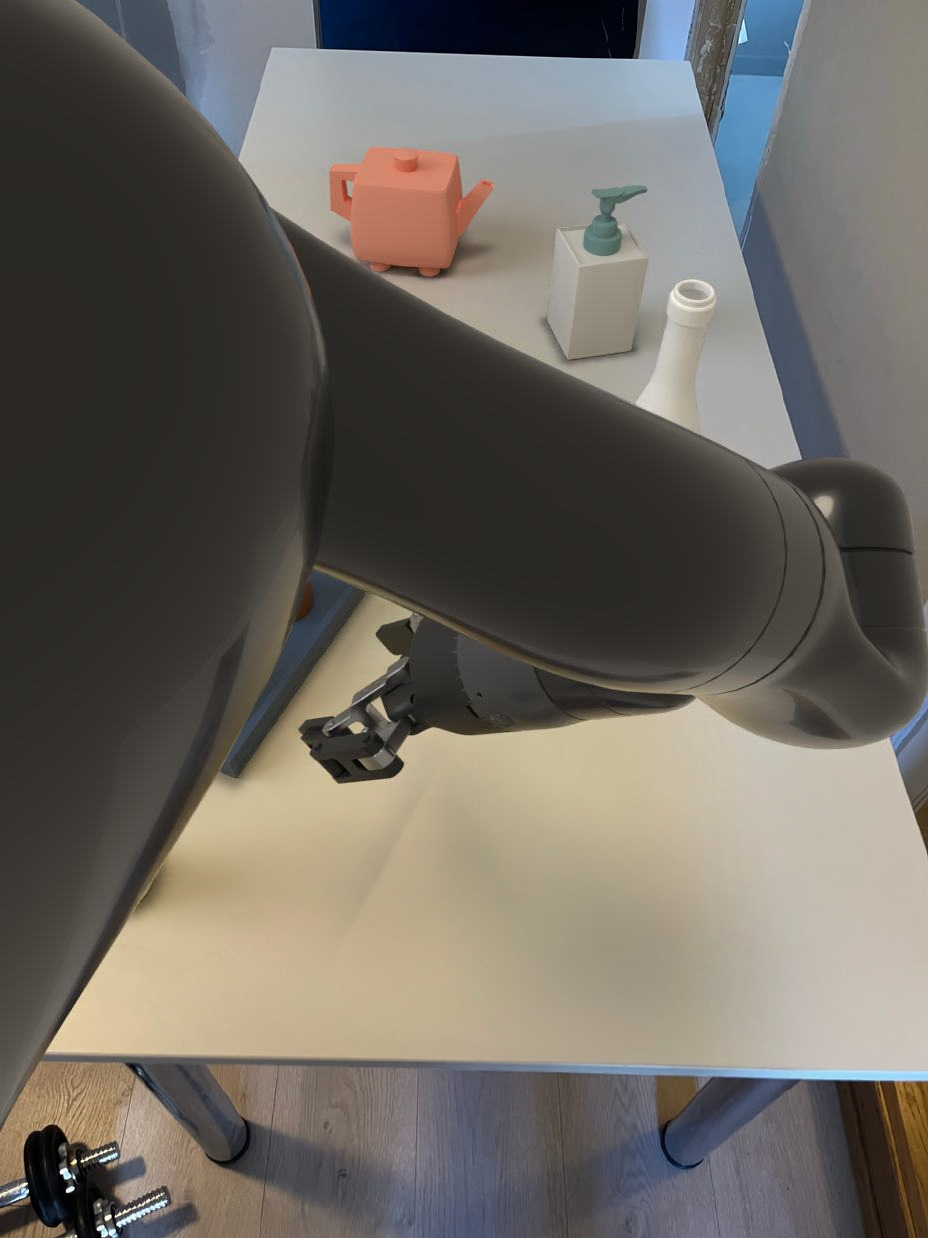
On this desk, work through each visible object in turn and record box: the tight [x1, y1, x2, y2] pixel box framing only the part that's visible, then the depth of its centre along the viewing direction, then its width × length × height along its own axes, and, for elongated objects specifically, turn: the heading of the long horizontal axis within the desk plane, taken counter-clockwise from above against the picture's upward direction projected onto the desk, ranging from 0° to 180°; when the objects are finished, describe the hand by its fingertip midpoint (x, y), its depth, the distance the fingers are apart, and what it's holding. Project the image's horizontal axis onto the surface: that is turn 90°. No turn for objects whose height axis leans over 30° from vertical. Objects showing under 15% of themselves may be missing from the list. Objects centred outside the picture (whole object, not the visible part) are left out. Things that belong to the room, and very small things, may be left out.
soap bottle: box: [546, 184, 649, 361], centre depth 109 cm, size 9×9×19 cm
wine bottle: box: [634, 278, 718, 435], centre depth 82 cm, size 10×10×30 cm
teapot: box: [328, 146, 495, 277], centre depth 122 cm, size 22×13×14 cm, turn 81°
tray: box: [219, 570, 367, 779], centre depth 88 cm, size 36×12×3 cm, turn 155°
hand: (349, 687), depth 59 cm, fingers open, 8 cm apart
